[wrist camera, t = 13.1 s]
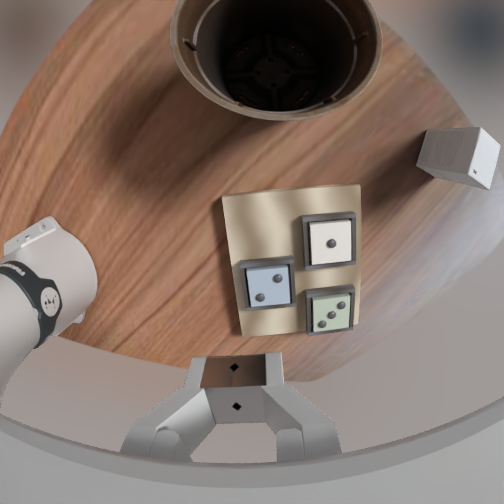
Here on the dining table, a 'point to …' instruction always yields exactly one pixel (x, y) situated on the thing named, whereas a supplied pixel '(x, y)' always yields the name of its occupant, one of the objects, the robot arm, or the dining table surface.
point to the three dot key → (330, 312)
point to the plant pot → (277, 53)
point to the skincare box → (460, 155)
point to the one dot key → (329, 241)
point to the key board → (291, 252)
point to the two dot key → (268, 285)
